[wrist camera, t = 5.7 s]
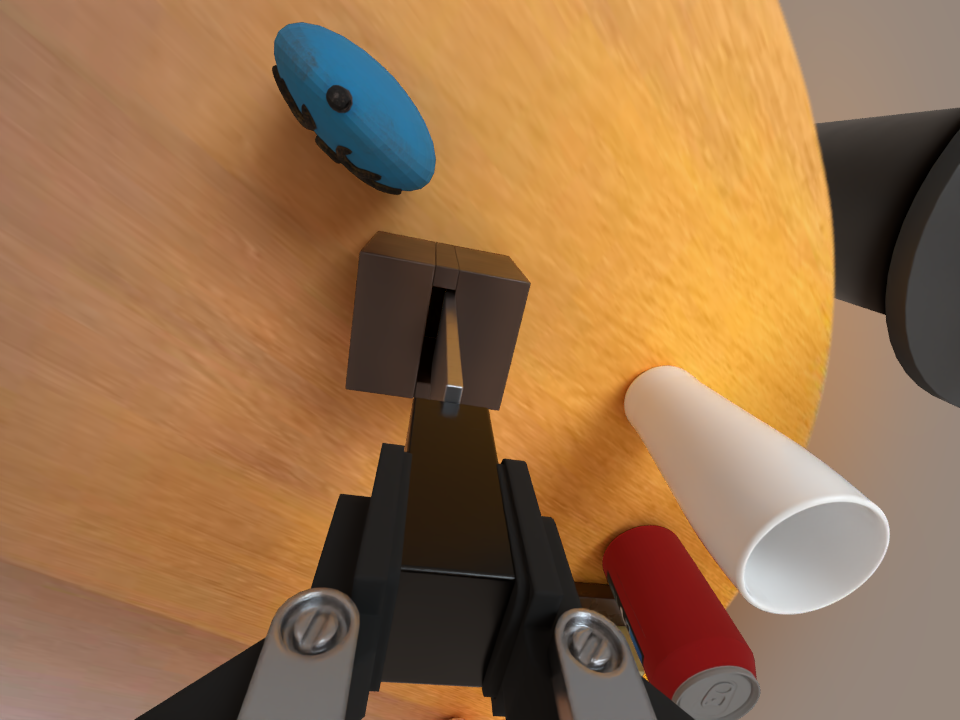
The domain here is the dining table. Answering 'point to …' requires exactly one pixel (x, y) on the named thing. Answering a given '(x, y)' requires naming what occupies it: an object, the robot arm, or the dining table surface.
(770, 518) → the drinking glass
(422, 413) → the knife
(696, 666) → the beverage can
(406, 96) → the ornament
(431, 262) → the knife block
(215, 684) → the robot arm
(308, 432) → the dining table surface
